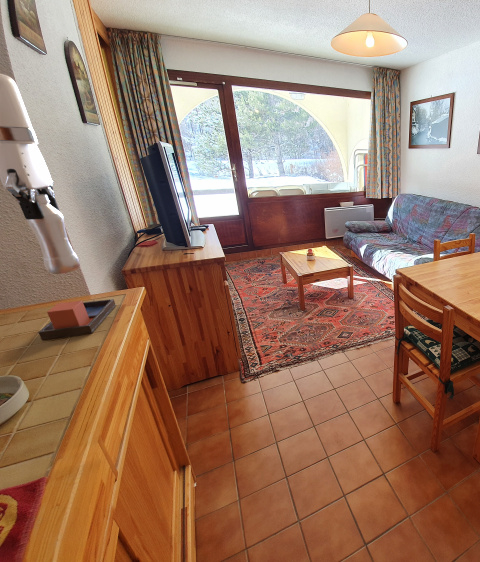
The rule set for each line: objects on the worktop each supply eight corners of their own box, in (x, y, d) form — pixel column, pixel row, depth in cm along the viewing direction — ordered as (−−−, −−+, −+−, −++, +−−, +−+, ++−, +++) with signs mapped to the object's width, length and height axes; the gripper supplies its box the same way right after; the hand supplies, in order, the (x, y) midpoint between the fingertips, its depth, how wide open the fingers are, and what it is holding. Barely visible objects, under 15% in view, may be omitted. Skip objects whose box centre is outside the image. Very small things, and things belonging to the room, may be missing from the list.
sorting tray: (41, 340, 75) (37, 332, 74) (74, 311, 89) (71, 303, 88) (92, 333, 79) (89, 325, 78) (116, 306, 92) (113, 298, 91)
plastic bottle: (42, 274, 80) (8, 196, 73) (72, 266, 86) (44, 192, 78) (58, 278, 78) (25, 197, 71) (88, 269, 84) (61, 194, 77)
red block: (56, 333, 77) (46, 312, 75) (66, 323, 81) (57, 303, 79) (81, 329, 79) (72, 309, 76) (90, 320, 83) (82, 300, 81)
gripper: (15, 137, 76) (44, 210, 83) (-42, 134, 61) (-1, 224, 68) (54, 138, 78) (79, 209, 85) (8, 136, 63) (43, 222, 70)
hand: (43, 215), depth 77 cm, fingers closed on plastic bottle, 6 cm apart
